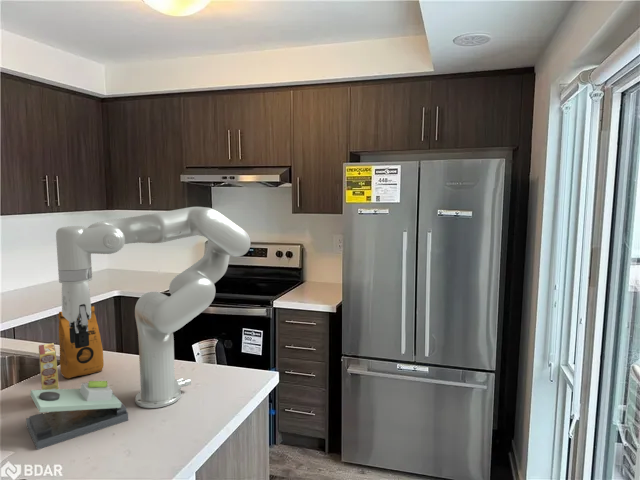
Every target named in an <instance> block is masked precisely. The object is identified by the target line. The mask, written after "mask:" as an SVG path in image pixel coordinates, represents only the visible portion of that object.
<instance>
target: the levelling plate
mask: <svg viewBox="0 0 640 480" xmlns="http://www.w3.org/2000/svg"><path fill="white" fill-rule="evenodd" d="M108 383H109V382H108V380H89V381H88V382H81V383H80V384H81V386H80V388H59V389H50V390H42V389H31V390H30V394H29V395H30V397H31V399H32V401H33V403H34V405H35V406H36V408H37V411H38V412H39V413H48V412H56V411H73V410H90V409H107V408H121V406H122V404H123V402H122V401H121V400H120V399H119V398H118V397H117V396H116V395H115V394H114V391H113V390H112V389H111V387H110V386H109V384H108ZM121 402H122V403H121Z"/></svg>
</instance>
